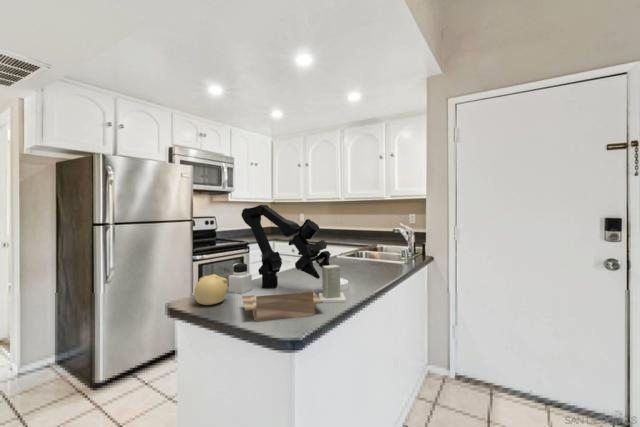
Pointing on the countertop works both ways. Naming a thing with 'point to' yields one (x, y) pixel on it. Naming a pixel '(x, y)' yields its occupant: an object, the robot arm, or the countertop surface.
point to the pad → (333, 299)
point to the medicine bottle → (240, 279)
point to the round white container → (342, 284)
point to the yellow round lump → (211, 289)
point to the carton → (281, 305)
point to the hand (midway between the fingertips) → (325, 276)
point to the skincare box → (331, 281)
